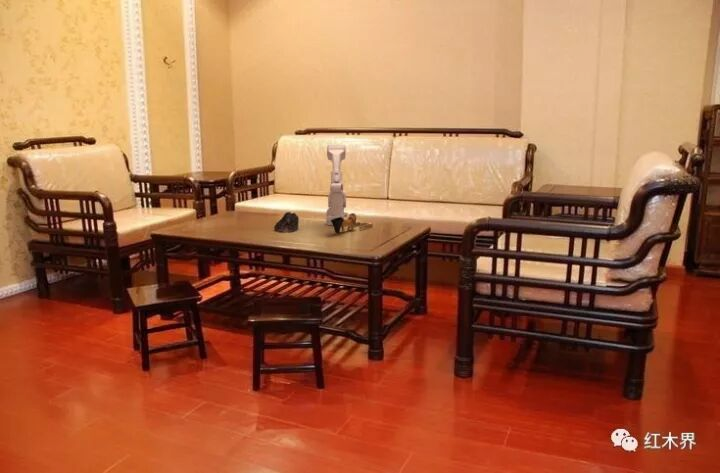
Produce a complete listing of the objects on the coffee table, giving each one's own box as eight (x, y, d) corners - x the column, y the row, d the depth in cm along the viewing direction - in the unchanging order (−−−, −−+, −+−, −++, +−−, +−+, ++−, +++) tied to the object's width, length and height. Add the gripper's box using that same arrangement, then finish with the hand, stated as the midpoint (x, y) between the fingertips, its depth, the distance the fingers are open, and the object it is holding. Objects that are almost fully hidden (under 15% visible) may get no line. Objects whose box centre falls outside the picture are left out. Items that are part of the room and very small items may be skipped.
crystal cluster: (275, 234, 300) (276, 216, 298) (271, 227, 313) (272, 209, 310) (301, 235, 304) (302, 216, 302) (296, 227, 317) (297, 209, 314)
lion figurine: (351, 228, 310) (351, 211, 308) (359, 229, 307) (358, 213, 305) (332, 233, 299) (332, 216, 297) (340, 234, 296) (340, 217, 294)
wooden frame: (347, 228, 311) (347, 224, 310) (359, 225, 318) (359, 221, 318) (361, 230, 305) (361, 226, 305) (372, 227, 313) (372, 223, 312)
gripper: (333, 209, 286) (334, 236, 289) (352, 204, 297) (352, 230, 300) (322, 207, 290) (323, 234, 293) (341, 203, 301) (341, 229, 304)
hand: (337, 232), depth 297 cm, fingers closed
